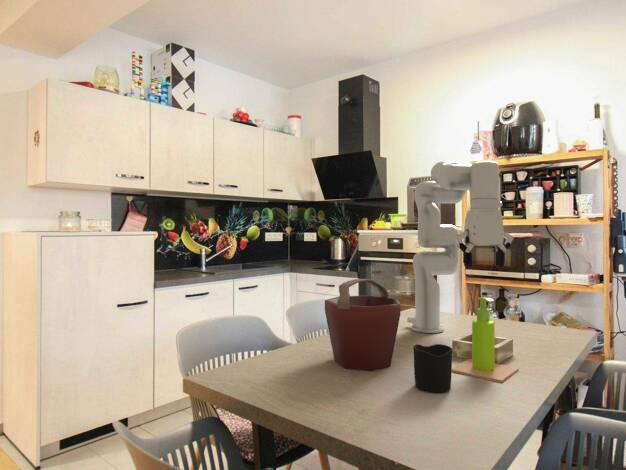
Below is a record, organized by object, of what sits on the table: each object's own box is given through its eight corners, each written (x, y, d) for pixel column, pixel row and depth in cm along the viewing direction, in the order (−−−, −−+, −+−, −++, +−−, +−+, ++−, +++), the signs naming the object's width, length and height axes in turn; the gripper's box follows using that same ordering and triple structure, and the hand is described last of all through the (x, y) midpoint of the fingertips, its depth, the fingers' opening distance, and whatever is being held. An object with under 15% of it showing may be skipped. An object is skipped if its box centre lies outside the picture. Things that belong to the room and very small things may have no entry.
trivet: (450, 371, 121) (450, 369, 121) (469, 360, 131) (469, 358, 131) (502, 382, 112) (502, 380, 112) (518, 369, 122) (518, 367, 122)
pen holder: (423, 378, 115) (423, 341, 115) (458, 386, 109) (458, 347, 109) (406, 388, 108) (406, 348, 108) (443, 397, 102) (443, 355, 102)
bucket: (352, 379, 114) (352, 285, 114) (307, 359, 132) (307, 278, 132) (417, 364, 128) (417, 280, 128) (368, 348, 146) (368, 274, 146)
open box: (452, 356, 136) (452, 340, 136) (469, 347, 147) (469, 332, 146) (498, 364, 127) (498, 347, 127) (512, 354, 137) (512, 339, 137)
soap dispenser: (482, 372, 118) (482, 299, 118) (468, 365, 124) (468, 296, 124) (501, 371, 119) (501, 298, 119) (486, 363, 126) (486, 295, 126)
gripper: (504, 206, 126) (504, 264, 127) (449, 206, 124) (448, 265, 124) (520, 205, 119) (520, 267, 119) (462, 204, 117) (461, 268, 117)
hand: (483, 266), depth 122 cm, fingers open, 9 cm apart
